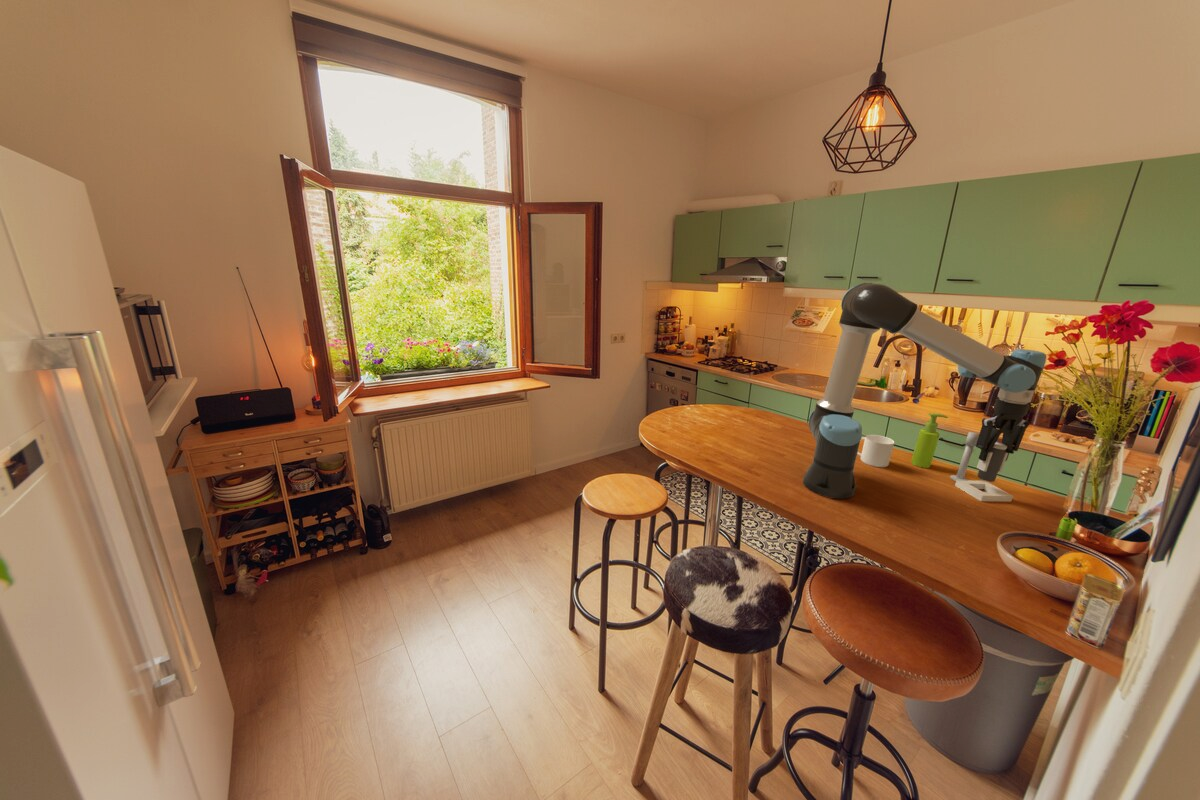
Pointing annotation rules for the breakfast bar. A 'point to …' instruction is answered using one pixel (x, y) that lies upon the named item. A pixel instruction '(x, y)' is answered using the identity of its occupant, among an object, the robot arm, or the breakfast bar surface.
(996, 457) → the dark grey cylinder
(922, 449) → the soap dispenser
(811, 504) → the breakfast bar surface
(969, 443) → the clip
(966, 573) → the breakfast bar surface
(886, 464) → the mug
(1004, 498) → the socket
